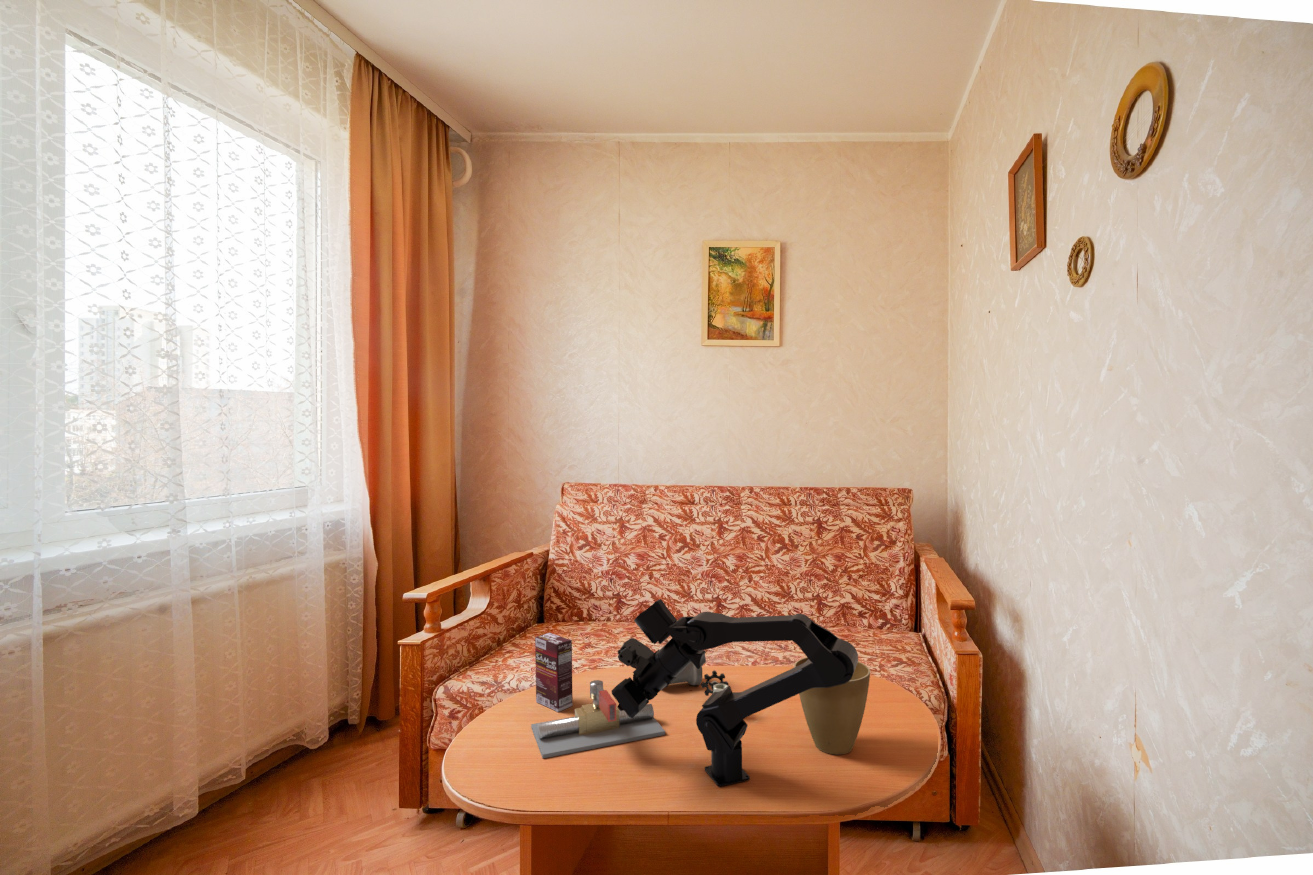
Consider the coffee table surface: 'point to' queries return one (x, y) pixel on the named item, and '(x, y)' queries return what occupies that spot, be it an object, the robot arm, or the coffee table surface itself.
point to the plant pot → (836, 711)
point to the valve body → (590, 721)
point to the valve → (714, 683)
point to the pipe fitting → (689, 675)
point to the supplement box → (553, 671)
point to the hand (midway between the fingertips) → (619, 708)
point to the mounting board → (596, 738)
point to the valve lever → (603, 700)
